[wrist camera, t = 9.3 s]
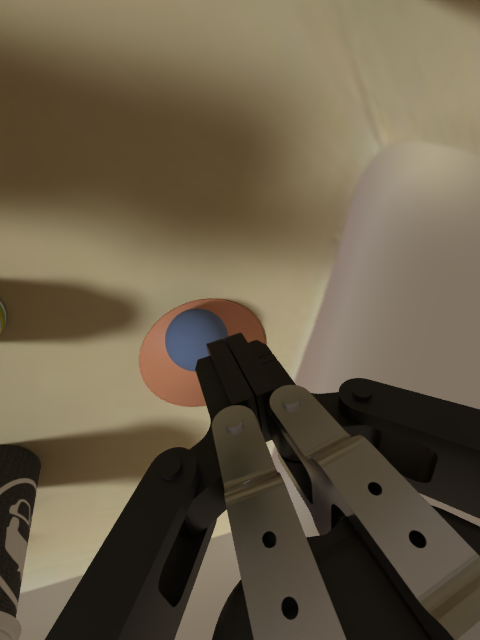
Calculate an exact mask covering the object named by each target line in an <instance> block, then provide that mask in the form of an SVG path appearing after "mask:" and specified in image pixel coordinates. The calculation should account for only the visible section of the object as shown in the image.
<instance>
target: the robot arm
mask: <svg viewBox="0 0 480 640" xmlns="http://www.w3.org/2000/svg"><path fill="white" fill-rule="evenodd" d="M206 346H207V350H208V354H209V356H207V357H204V358H201V359H198V360H197V364H196V368H195V371H196V374H197V377H198V380H199V383H200V387H201V390H202V393H203V396H204V399H205V402H206V405H207V408H208V412H209V415H210V418H211V424H210V428H209V430H208V432H207V434H206V435H205V437H204V438H203V439H202V440H201V441H200V442H199V443H197V444H196V445H195V446H193V447H192V448H191V449H189V450H188V449H186V448H182V447H176V448H171V449H168V450H166V451H164V452H163V453H161V454H160V455H159V456H157V457H156V458H155V459H154V461H153V462H152V463H151V465H150V467H149V468H148V470H147V472H146V473H145V475H144V476H143V478H142V480H141V481H140V483H139V485H138V486H137V488H136V490H135V491H134V493H133V495H132V496H131V498H130V500H129V501H128V503H127V505H126V506H125V508H124V510H123V511H122V513H121V515H120V516H119V518H118V519H117V521H116V523H115V524H114V526H113V528H112V529H111V531H110V533H109V534H108V536H107V538H106V539H105V541H104V543H103V544H102V546H101V548H100V549H99V551H98V553H97V554H96V556H95V558H94V559H93V561H92V562H91V564H90V566H89V567H88V569H87V571H86V572H85V574H84V576H83V577H82V579H81V581H80V582H79V584H78V586H77V587H76V589H75V591H74V592H73V594H72V596H71V597H70V599H69V601H68V602H67V604H66V606H65V607H64V609H63V610H62V612H61V614H60V615H59V617H58V619H57V620H56V622H55V624H54V625H53V627H52V629H51V630H50V632H49V634H48V635H47V637H46V639H45V640H174V639H175V636H176V633H177V630H178V627H179V625H180V622H181V619H182V616H183V613H184V611H185V608H186V605H187V602H188V599H189V597H190V594H191V591H192V589H193V586H194V583H195V580H196V578H197V574H198V572H199V569H200V566H201V564H202V560H203V558H204V555H205V552H206V550H207V547H208V544H209V541H210V539H211V536H212V533H213V530H214V528H215V525H216V521H217V518H218V517H219V516H220V515H221V514H222V513H223V512H224V511H225V510H226V509H227V512H228V517H229V522H230V526H231V531H232V536H233V541H234V546H235V550H236V555H237V560H238V565H239V570H240V575H241V580H240V581H239V583H238V584H237V585H236V586H235V588H234V589H233V591H232V592H231V594H230V595H229V597H228V599H227V601H226V603H225V605H224V607H223V609H222V611H221V613H220V616H219V619H218V622H217V624H216V627H215V631H214V634H213V638H212V640H480V527H479V526H477V525H475V524H473V523H471V522H469V521H466V520H464V519H462V518H460V517H458V516H456V515H454V514H452V513H449V512H447V511H445V510H443V509H440V508H438V507H435V506H432V505H430V504H429V503H428V502H427V501H426V500H425V499H424V498H423V497H422V496H421V495H420V494H419V493H421V494H423V495H426V496H428V497H430V498H433V499H435V500H437V501H440V502H442V503H444V504H447V505H449V506H452V507H454V508H456V509H458V510H461V511H463V512H465V513H468V514H470V515H472V516H475V517H477V518H480V410H479V409H475V408H472V407H468V406H465V405H461V404H457V403H453V402H450V401H446V400H442V399H439V398H435V397H431V396H427V395H424V394H420V393H417V392H413V391H409V390H405V389H402V388H398V387H394V386H390V385H387V384H383V383H379V382H376V381H372V380H368V379H363V378H354V379H350V380H347V381H345V382H344V383H343V384H342V385H341V386H340V388H339V392H336V393H325V394H314V393H310V392H309V391H308V390H307V389H305V388H303V387H301V386H297V385H296V384H295V383H294V381H293V380H292V379H291V377H290V376H289V375H288V373H287V372H286V371H285V369H284V368H283V367H282V365H281V364H280V363H279V361H277V359H276V357H275V356H274V354H272V352H271V350H270V349H269V348H268V346H267V345H266V344H264V343H262V342H260V341H258V340H254V341H251V342H247V340H246V339H245V337H244V336H243V334H242V333H241V332H240V333H237V334H234V335H231V336H228V337H225V338H224V339H223V338H222V339H219V340H216V341H213V342H210V343H207V344H206ZM270 440H273V442H274V444H275V446H276V448H277V453H278V458H279V460H280V462H281V464H282V466H283V467H284V469H285V470H286V472H287V474H288V475H289V477H290V479H291V480H292V482H293V484H294V486H295V487H296V489H297V491H298V492H299V494H300V495H301V497H302V499H303V500H304V502H305V504H306V505H307V507H308V509H309V510H310V513H311V515H312V517H313V520H314V523H315V526H316V528H317V530H318V533H319V534H320V536H313V537H307V538H306V536H305V534H304V531H303V529H302V526H301V523H300V521H299V518H298V516H297V513H296V511H295V508H294V506H293V503H292V501H291V498H290V496H289V493H288V491H287V488H286V486H285V483H284V481H283V478H282V476H281V474H280V473H279V472H277V470H276V468H275V465H274V463H273V460H272V457H271V455H270V452H269V450H268V447H267V445H266V442H267V441H270ZM418 492H419V493H418Z"/></svg>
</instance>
